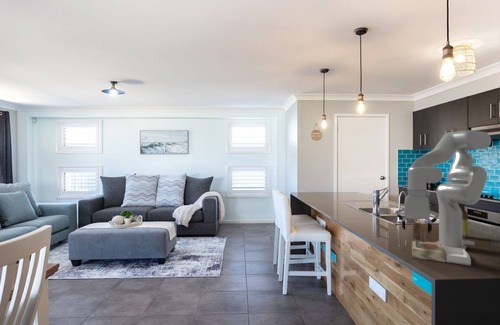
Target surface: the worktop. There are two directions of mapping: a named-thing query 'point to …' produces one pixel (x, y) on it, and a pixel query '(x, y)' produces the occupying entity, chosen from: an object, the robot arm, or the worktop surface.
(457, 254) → the box
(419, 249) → the board
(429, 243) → the block
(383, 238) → the worktop surface
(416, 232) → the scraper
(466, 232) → the sauce bottle
